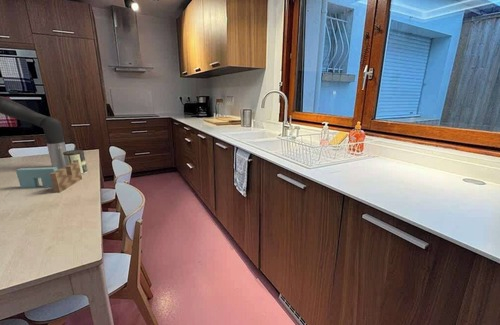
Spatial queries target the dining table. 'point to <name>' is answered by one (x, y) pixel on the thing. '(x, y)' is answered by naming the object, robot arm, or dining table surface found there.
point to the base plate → (66, 177)
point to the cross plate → (35, 177)
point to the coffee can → (76, 159)
